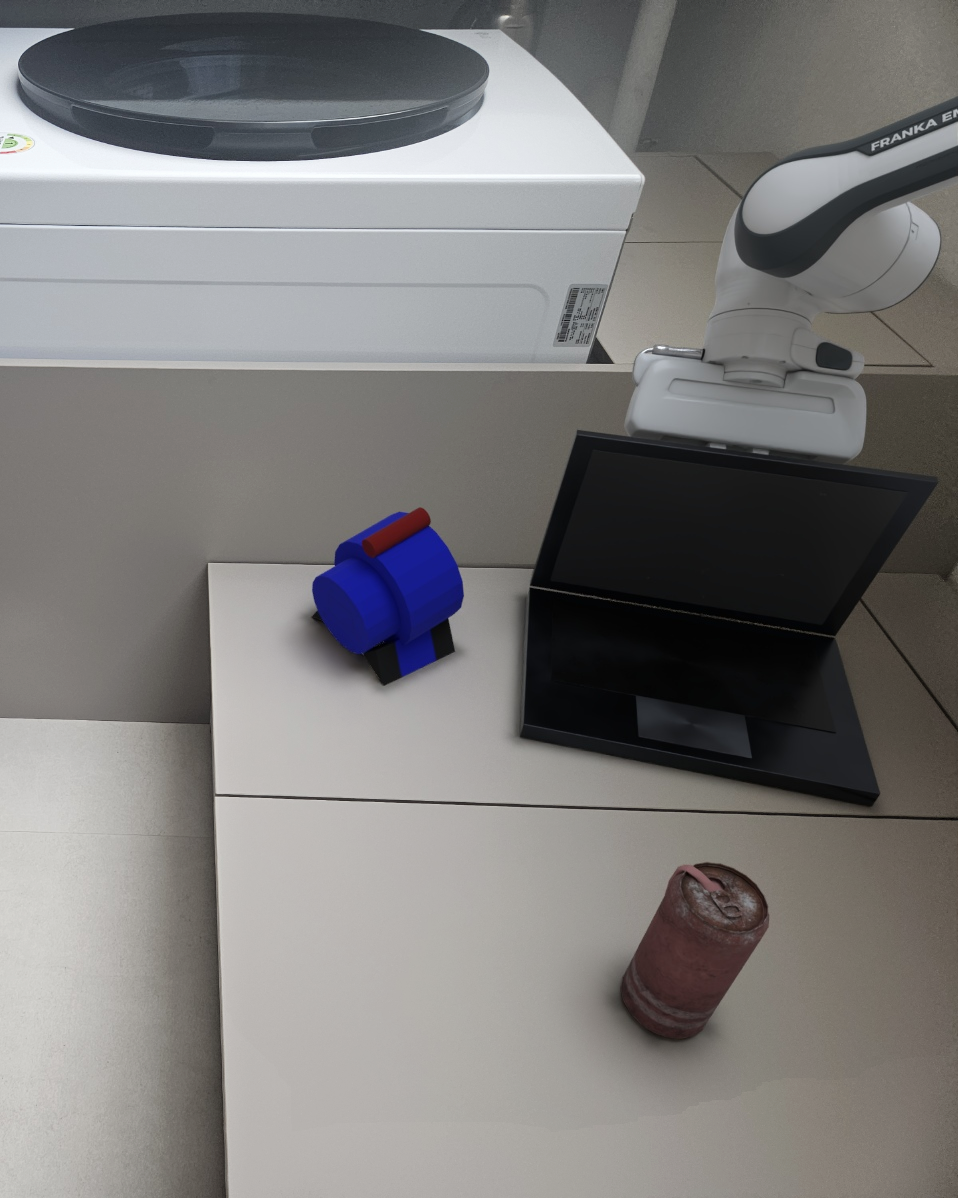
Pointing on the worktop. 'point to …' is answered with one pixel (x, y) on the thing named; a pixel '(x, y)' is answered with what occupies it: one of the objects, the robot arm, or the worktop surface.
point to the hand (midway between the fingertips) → (727, 496)
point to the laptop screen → (723, 530)
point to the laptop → (693, 695)
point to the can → (694, 948)
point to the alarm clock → (392, 595)
